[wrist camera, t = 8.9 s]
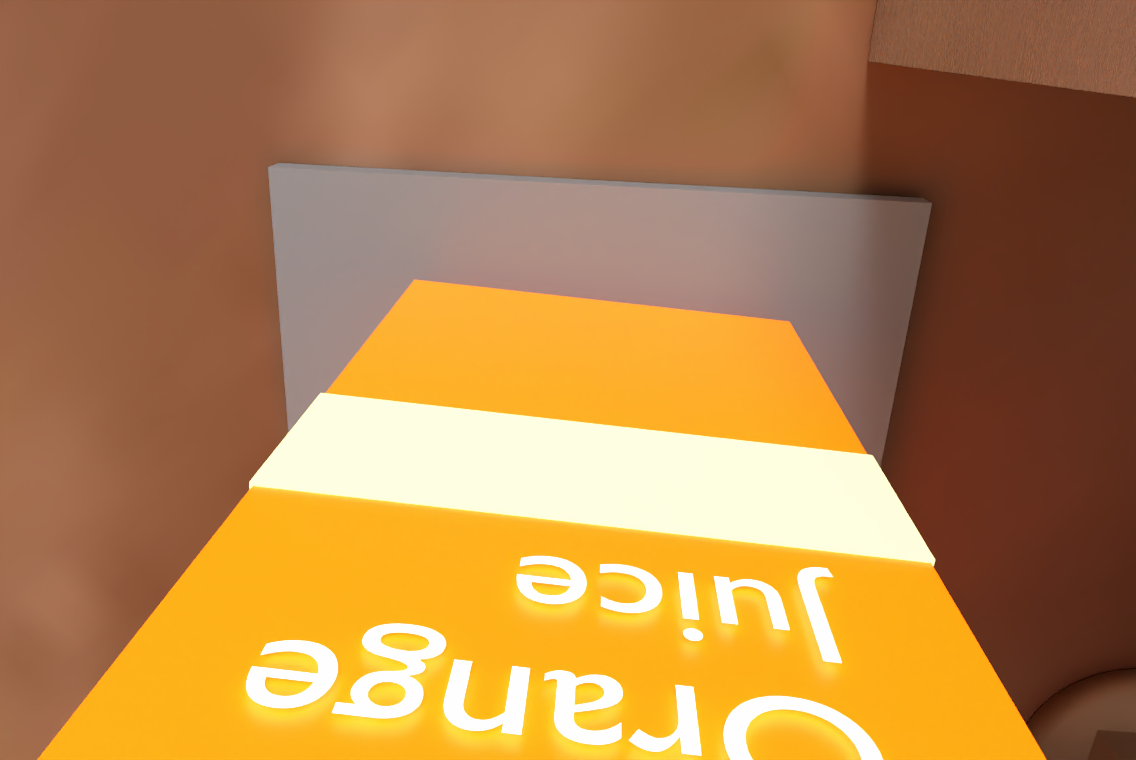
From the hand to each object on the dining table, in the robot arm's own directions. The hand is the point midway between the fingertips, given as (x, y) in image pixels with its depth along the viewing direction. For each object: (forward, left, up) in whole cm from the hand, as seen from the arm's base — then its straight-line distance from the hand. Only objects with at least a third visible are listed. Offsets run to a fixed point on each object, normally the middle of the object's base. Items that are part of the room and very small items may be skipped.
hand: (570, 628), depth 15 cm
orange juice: (0, 0, -5) cm, 5 cm away
